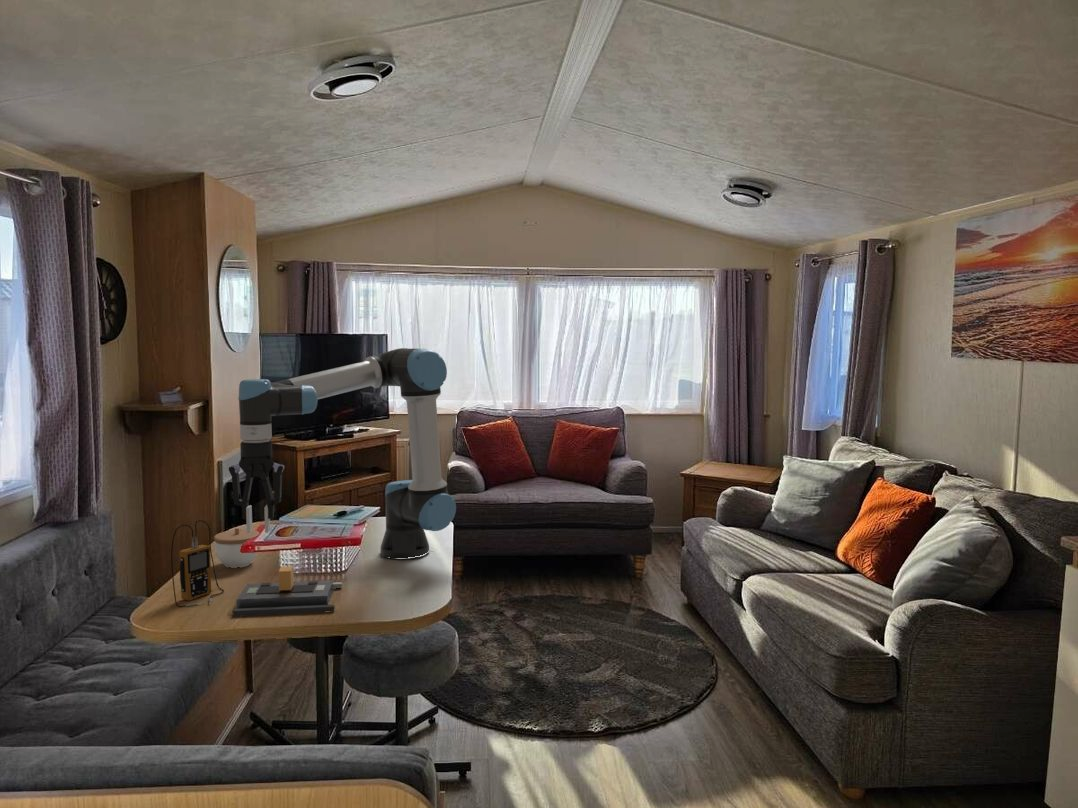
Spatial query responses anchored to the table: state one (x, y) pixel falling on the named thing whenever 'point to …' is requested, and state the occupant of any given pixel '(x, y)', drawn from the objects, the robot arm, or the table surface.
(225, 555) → the lidded bowl
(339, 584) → the light grey rod
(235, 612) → the dark grey bar
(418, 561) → the table surface
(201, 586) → the multimeter
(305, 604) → the grey control panel
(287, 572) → the orange rectangular block
